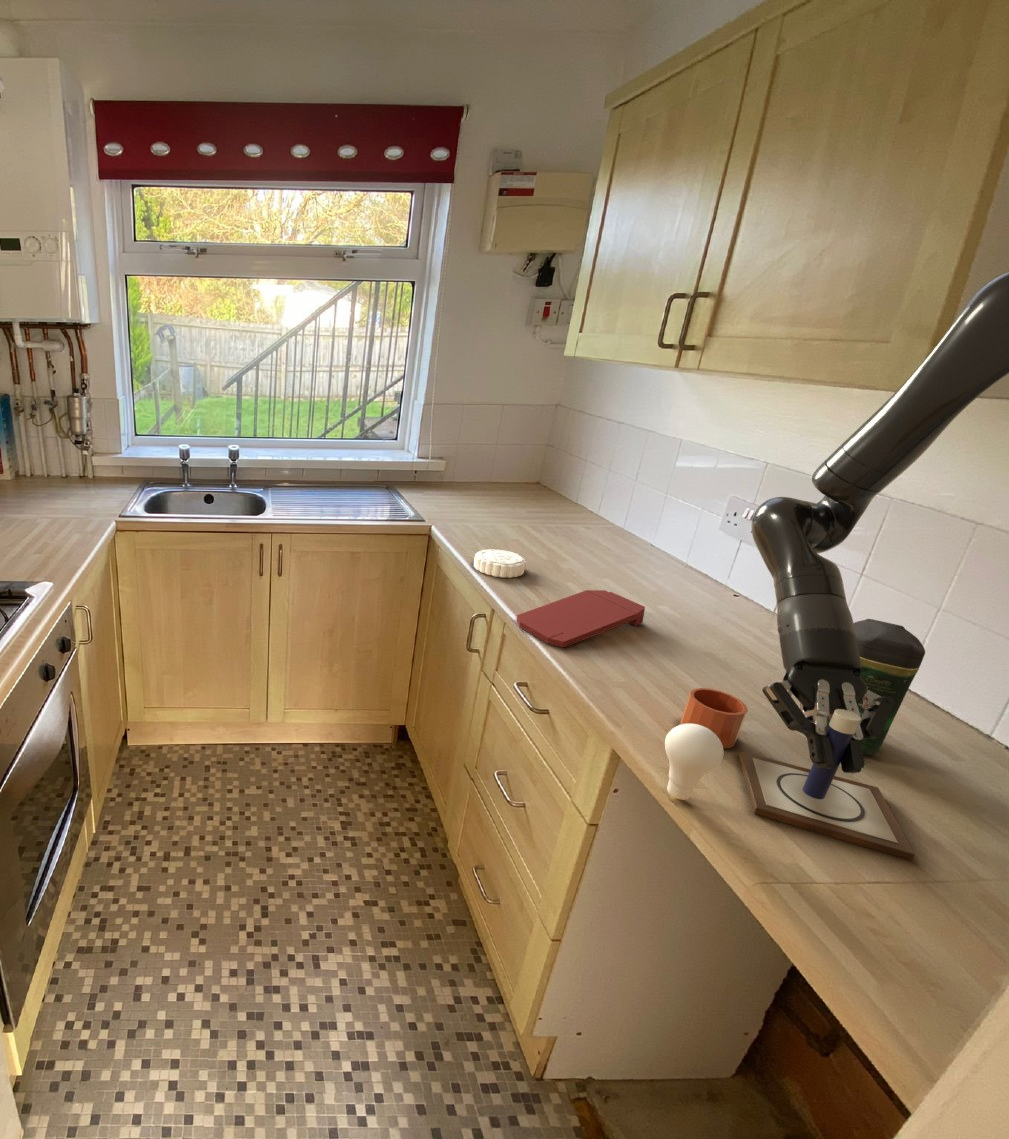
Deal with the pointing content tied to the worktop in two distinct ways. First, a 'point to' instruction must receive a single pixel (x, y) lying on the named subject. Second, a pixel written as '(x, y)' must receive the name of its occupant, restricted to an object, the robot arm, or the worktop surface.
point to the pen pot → (715, 713)
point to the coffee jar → (886, 667)
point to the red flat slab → (580, 617)
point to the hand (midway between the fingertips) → (838, 769)
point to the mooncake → (499, 563)
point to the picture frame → (823, 806)
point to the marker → (840, 736)
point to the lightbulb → (690, 757)
